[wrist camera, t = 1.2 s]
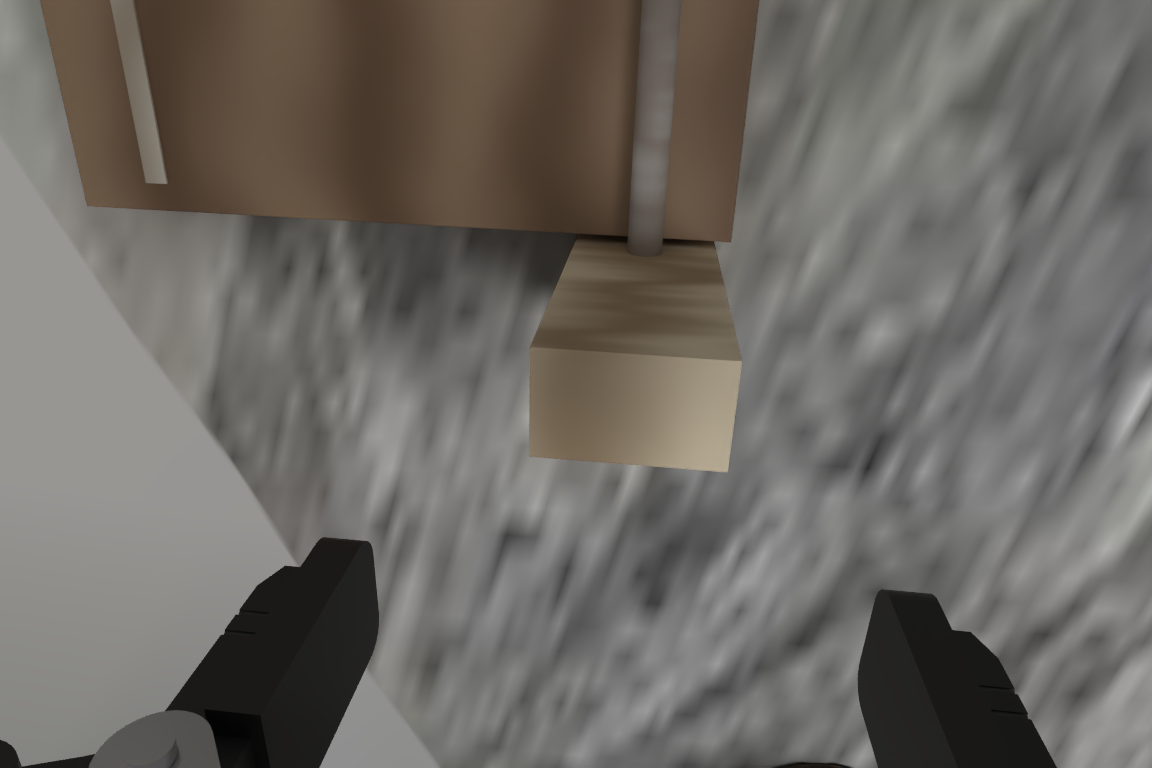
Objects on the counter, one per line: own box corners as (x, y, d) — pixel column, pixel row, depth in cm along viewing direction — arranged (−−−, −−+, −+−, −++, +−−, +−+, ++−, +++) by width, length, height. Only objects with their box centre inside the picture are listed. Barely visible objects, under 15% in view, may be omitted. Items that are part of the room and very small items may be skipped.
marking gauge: (744, -60, 25) (806, -132, 14) (704, 314, 30) (727, 472, 19) (589, -64, 25) (533, -136, 14) (577, 306, 31) (529, 456, 20)
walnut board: (770, -155, 24) (779, -171, 22) (726, 229, 29) (731, 242, 27) (45, -165, 26) (-4, -181, 24) (121, 195, 31) (85, 206, 29)
